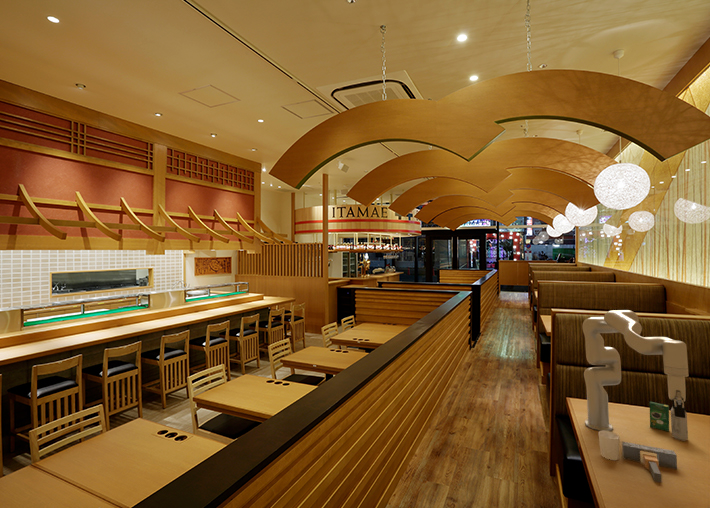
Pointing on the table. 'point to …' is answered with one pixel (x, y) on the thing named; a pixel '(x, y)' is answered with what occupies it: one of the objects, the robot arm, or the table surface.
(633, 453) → the grey long block
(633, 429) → the table surface
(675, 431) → the energy drink can
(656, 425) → the coffee box
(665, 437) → the table surface
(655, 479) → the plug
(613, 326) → the robot arm
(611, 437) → the white cup
